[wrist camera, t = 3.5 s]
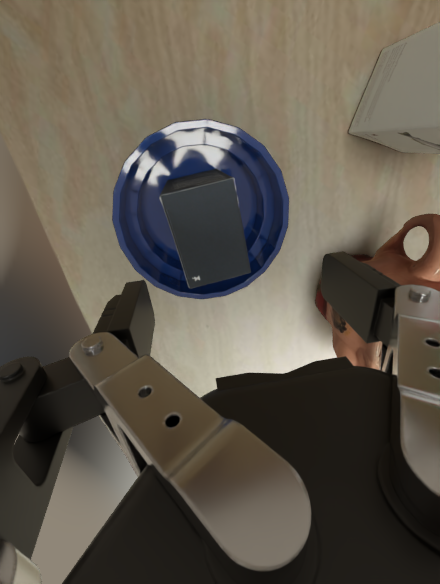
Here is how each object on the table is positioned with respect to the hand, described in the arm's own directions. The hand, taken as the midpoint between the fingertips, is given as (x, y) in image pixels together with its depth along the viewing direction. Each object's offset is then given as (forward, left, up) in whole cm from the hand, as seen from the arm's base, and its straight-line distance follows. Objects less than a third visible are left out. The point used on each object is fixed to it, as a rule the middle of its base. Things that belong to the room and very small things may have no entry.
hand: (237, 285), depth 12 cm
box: (0, -1, -20) cm, 20 cm away
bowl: (0, -1, -20) cm, 20 cm away
